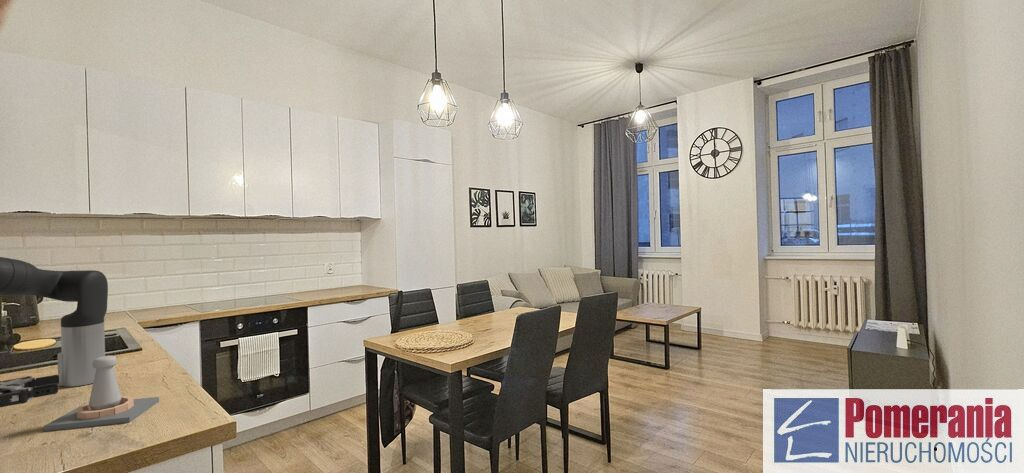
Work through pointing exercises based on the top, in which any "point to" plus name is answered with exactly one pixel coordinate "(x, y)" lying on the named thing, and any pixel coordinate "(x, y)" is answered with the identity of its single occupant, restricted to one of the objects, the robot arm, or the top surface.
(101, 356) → the robot arm
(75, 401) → the top surface
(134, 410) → the holder
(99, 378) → the salt shaker
